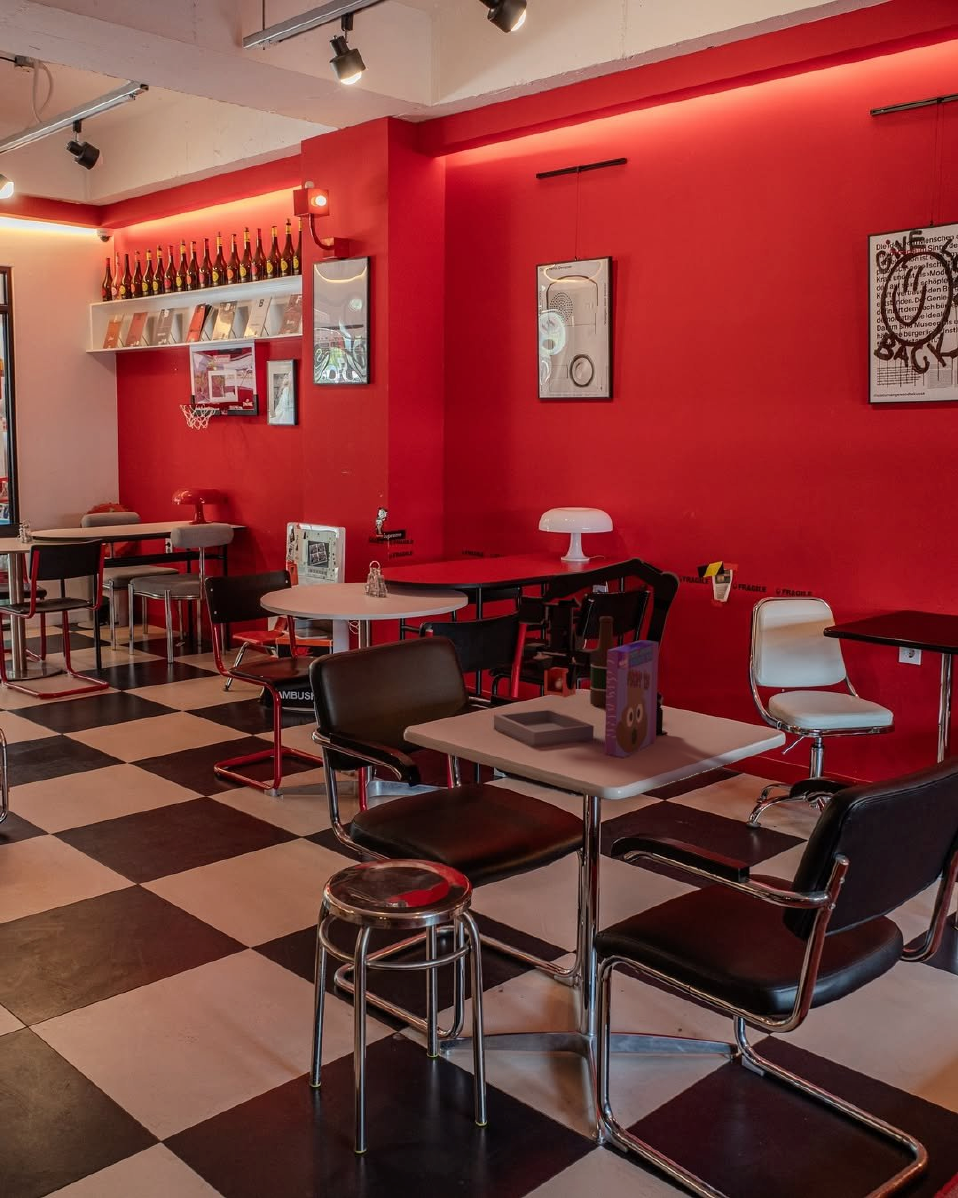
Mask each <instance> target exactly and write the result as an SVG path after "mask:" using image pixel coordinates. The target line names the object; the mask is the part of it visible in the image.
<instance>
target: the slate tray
mask: <svg viewBox="0 0 958 1198" xmlns="http://www.w3.org/2000/svg"><path fill="white" fill-rule="evenodd" d="M594 728H595V727H594V725H593V724H590V723H588V722H585V721H582V720H580V719H577V718H575V717H573V716H570V715H567V714H565V713H562V712H560V711H557V710H554V709H553V708H547V709H537V710H536V709H535V710H527V711H517V712H515V711H514V712H507V713H499V714H498V713H496V714H493V729H494V730H496V731H498V732H501V733H502V734H505V736H506V735H507V736H509V737H511V738H513V739H515V740H517V741H519V742H522V743H524V744H526V745H529V746H530V747H532V748H541V747H549V746H556V745H565V744H572V743H580V742H583V743H584V742H590V741H594V733H595V732H594Z"/></svg>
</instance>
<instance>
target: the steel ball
mask: <svg viewBox="0 0 958 1198" xmlns="http://www.w3.org/2000/svg"><path fill="white" fill-rule="evenodd" d="M554 686H555V688H556V689H557V690H560V691H561V690H563V679H562V678H559V679H557V680H556V681H555V683H554Z"/></svg>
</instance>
